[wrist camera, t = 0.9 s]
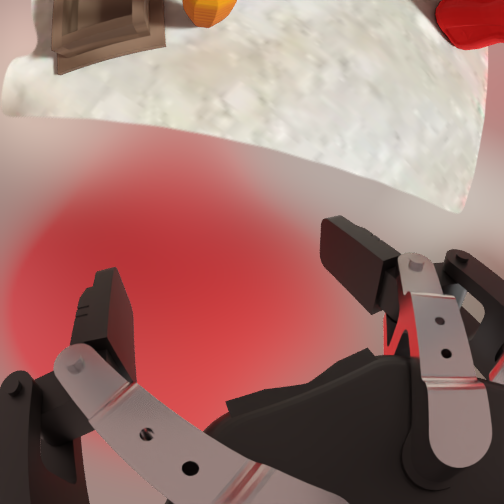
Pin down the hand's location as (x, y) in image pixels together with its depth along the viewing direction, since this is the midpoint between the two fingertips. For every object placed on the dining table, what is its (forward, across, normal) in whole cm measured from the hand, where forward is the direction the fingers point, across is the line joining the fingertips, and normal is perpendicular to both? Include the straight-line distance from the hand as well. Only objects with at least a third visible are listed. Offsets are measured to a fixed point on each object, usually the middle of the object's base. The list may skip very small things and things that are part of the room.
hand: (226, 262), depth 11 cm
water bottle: (+21, -47, -23) cm, 57 cm away
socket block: (+27, +6, -20) cm, 34 cm away
